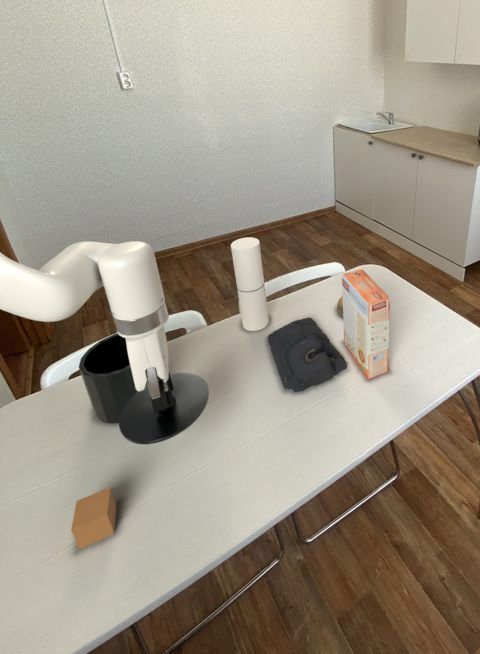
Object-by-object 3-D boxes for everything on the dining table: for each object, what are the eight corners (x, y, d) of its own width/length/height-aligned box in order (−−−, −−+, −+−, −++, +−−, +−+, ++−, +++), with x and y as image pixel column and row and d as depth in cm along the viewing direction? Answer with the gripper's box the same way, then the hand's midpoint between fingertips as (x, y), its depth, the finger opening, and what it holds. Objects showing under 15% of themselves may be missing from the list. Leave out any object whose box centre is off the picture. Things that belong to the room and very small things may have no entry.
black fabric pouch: (318, 319, 108) (317, 305, 107) (350, 373, 90) (350, 357, 88) (264, 336, 102) (262, 322, 101) (287, 398, 84) (285, 381, 82)
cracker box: (390, 372, 90) (391, 297, 83) (367, 381, 88) (366, 304, 80) (364, 335, 102) (363, 267, 95) (343, 342, 99) (340, 273, 92)
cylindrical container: (237, 329, 105) (225, 248, 96) (250, 313, 112) (240, 236, 103) (261, 333, 104) (250, 251, 95) (273, 316, 110) (264, 238, 101)
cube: (79, 549, 58) (70, 530, 57) (84, 519, 62) (76, 500, 60) (114, 533, 60) (107, 514, 58) (117, 505, 64) (110, 486, 62)
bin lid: (116, 462, 60) (106, 431, 58) (123, 394, 73) (115, 367, 70) (213, 424, 66) (207, 395, 64) (205, 367, 79) (199, 341, 76)
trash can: (90, 434, 76) (73, 386, 72) (99, 385, 88) (85, 341, 83) (166, 407, 82) (154, 361, 77) (165, 365, 93) (154, 323, 89)
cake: (331, 317, 110) (329, 301, 109) (346, 299, 119) (345, 283, 117) (362, 324, 106) (360, 307, 104) (376, 304, 114) (374, 288, 113)
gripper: (119, 296, 68) (142, 376, 74) (109, 355, 54) (138, 447, 60) (166, 284, 71) (184, 363, 77) (168, 338, 57) (189, 428, 63)
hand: (164, 399), depth 69 cm, fingers closed on bin lid, 2 cm apart
